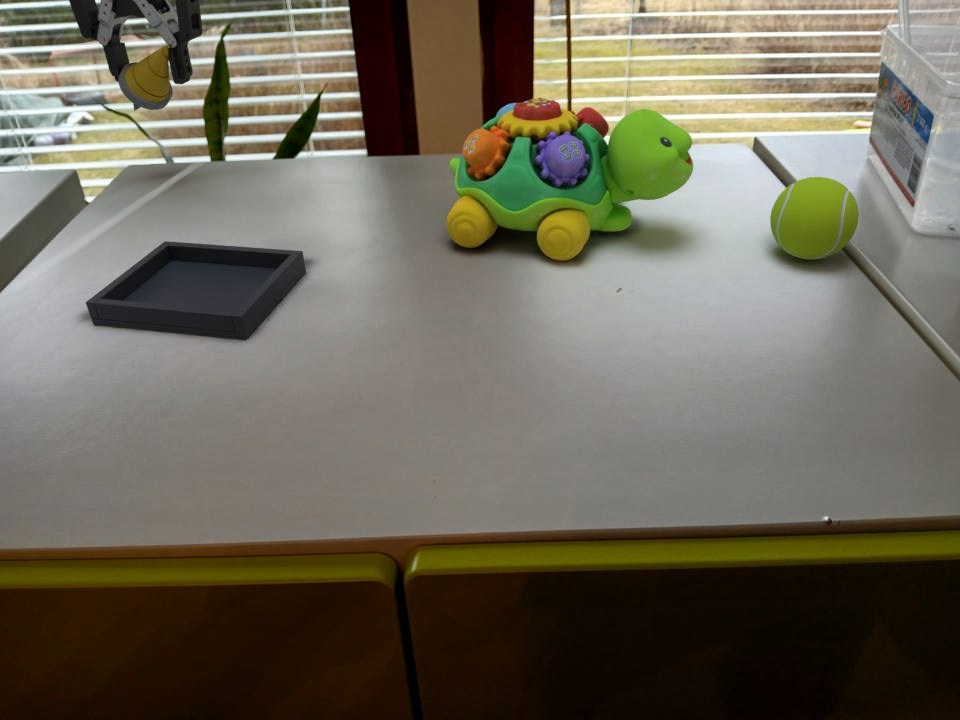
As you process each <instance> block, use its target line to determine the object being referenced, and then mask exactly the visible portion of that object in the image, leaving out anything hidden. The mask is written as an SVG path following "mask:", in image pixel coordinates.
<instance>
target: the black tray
mask: <svg viewBox="0 0 960 720" xmlns="http://www.w3.org/2000/svg"><path fill="white" fill-rule="evenodd" d="M306 273H307V270H306V263H305V257H304V252H303V250H293V249H292V250H291V249H277V248H265V247H251V246H238V245H237V246H236V245H223V244H211V243H210V244H209V243H194V242H181V241H169V240H168V241H163V242H162V243H160V244H159V245H158V246H156V247H155V248H154V249H153V250H151V251H150V252H149V253H147V254H146V255H144V257H142V258H141V259H140V260H138V261H137V262H135V263H134V264H133V265H132V266H131V267H129V268H128V269H127V270H125V271H124V272H123V273H122V274H120V275H119V276H118V277H116V278H115V279H114V280H113V281H111V282H110V283H109V284H107V285H106V286H104V288H102V289H101V290H99V291H98V292H97V293H96V294H94V295H93V296H92V297H90V298H89V299H88V300H86V301H85V305H86V308H87V311H88V314H89V316H90V319H91V322H92V325H94V326H102V327H103V326H105V327H113V328H114V327H115V328H123V329H136V330H145V331H154V332H155V331H156V332H166V333H176V334H184V335H185V334H186V335H194V336H195V335H196V336H204V337H205V336H207V337H217V338H227V339H236V340H237V339H238V340H248V338H249V337H250V336H251V335H252V334H253V333H254V332H255V331H256V329H257V328H258V327H259V326H260V325H261V324H262V323H263V321H264V320H265V319H266V318H267V317H268V316H269V315H270V314H271V313H272V311H273V310H274V309H275V308H276V307H277V305H279V303H280V302H281V301H282V300H283V299H284V298H285V297H286V295H287V294H288V293H289V292H290V291H291V290H292V289H293V288H294V287H295V286H296V284H297V283H298V282H299V281H300V280H301V279H302V277H303V276H304V275H305V274H306Z"/></svg>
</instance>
